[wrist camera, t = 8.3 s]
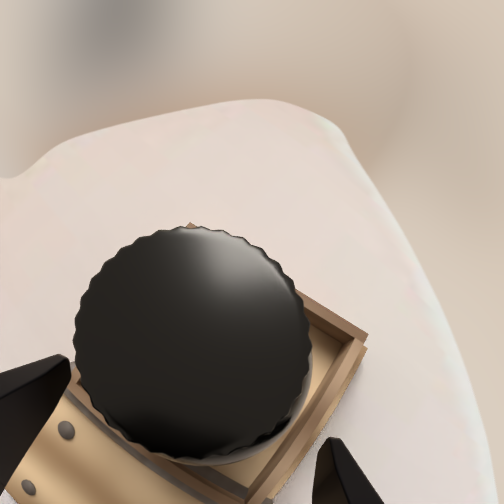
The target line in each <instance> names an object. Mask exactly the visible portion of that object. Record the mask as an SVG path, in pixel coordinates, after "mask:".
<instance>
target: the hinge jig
mask: <svg viewBox="0 0 504 504" xmlns="http://www.w3.org/2000/svg"><path fill="white" fill-rule="evenodd" d="M186 227H187V228H190V229H191V228H195V227H197V226H195V225H194V224H192V223H189V224H188V225H187V226H186ZM295 292H296V293H297V294H298V295H299V296H300V297H301V298H302V299H303V301H304V313H305V315H306V316H307V318H308V320H309V321H310V329H309V333H308V334H309V338H310V340H311V343H312V346H313V347H312V359H313V368H312V378H311V384H310V388H309V392H308V395H307V398H306V401H305V403H304V405H303V408H302V410H301V411H300V413H299V415H298V417H297V418H296V420H295V421H294V423H293V424H292V425H291V427H290V428H289V429H288V430H287V431H286V432H285V434H284V435H283V436H281V437H280V438H279V439H278V440H277V441H276V442H275V443H273V444H272V445H271V446H270V447H268V448H267V449H265V450H263V451H262V452H260V453H258V454H256V455H254V456H252V457H250V458H248V459H245V460H242V461H239V462H236V463H231V464H227V465H220V466H193V465H187V464H181V463H178V462H174V461H171V460H168V459H166V458H163V457H161V456H159V455H157V454H155V453H150V452H149V451H147V450H146V449H145V448H144V447H143V446H141V445H140V444H136V443H131V442H128V441H127V440H126V439H125V438H124V437H123V436H122V434H121V433H120V432H119V431H118V430H115V429H113V428H111V427H109V426H108V425H107V423H106V421H105V419H104V417H103V415H102V414H101V413H99V412H98V411H97V410H96V409H94V408H93V407H92V404H91V401H90V396H89V394H88V393H87V392H86V391H85V390H84V389H83V387H82V386H81V375H80V372H79V371H78V369H77V367H76V365H75V362H71V363H70V367H71V373H72V377H71V380H70V382H69V384H68V386H67V388H66V390H65V392H64V393H63V395H62V397H61V399H60V401H59V403H58V405H57V407H56V408H55V410H54V412H53V413H52V415H51V416H50V418H49V419H48V421H47V422H46V424H45V425H44V427H43V428H42V430H41V431H40V433H39V434H38V436H37V437H36V439H35V440H34V442H33V443H32V445H31V446H30V448H29V450H28V451H27V453H26V454H25V456H24V457H23V459H22V461H21V462H20V464H19V465H18V467H17V469H16V470H15V472H14V473H13V475H12V477H11V478H10V480H9V482H8V483H7V485H6V487H5V489H6V491H7V492H8V493H9V494H10V495H11V496H12V497H13V498H14V500H15V501H16V502H17V503H18V504H272V503H273V501H272V499H273V498H274V496H275V495H276V494H277V493H278V491H279V490H280V489H281V488H282V486H283V485H284V484H285V482H286V481H287V480H288V478H289V477H290V476H291V474H292V473H293V471H294V470H295V469H296V467H297V466H298V465H299V463H300V462H301V460H302V459H303V457H304V456H305V454H306V453H307V452H308V450H309V449H310V447H311V446H312V444H313V443H314V441H315V440H316V438H317V437H318V435H319V433H320V432H321V430H322V429H323V427H324V426H325V424H326V422H327V421H328V419H329V417H330V416H331V414H332V413H333V411H334V409H335V408H336V406H337V404H338V402H339V401H340V399H341V397H342V396H343V394H344V392H345V390H346V388H347V387H348V385H349V383H350V381H351V379H352V378H353V376H354V374H355V372H356V370H357V368H358V366H359V364H360V362H361V360H362V359H363V357H364V355H365V353H366V351H367V349H368V348H367V347H365V346H363V344H364V342H365V340H366V338H367V336H368V334H367V333H366V332H364V331H363V330H361V329H359V328H358V327H356V326H355V325H353V324H351V323H350V322H348V321H346V320H345V319H343V318H342V317H340V316H338V315H337V314H335V313H334V312H332V311H330V310H329V309H327V308H326V307H324V306H322V305H321V304H319V303H317V302H316V301H314V300H313V299H311V298H309V297H308V296H306V295H305V294H303V293H301V292H300V291H298V290H297V289H295Z"/></svg>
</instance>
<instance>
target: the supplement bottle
mask: <svg viewBox="0 0 504 504" xmlns="http://www.w3.org/2000/svg"><path fill="white" fill-rule="evenodd" d="M75 328H76V331H75V334H74V337H73V345H74V348H75V351H76V355H75V365H76V367H77V369H78V371H79V372H80V375H81V386H82V387H83V389H84V390H85V391H86V392H87V393H88V394H89V396H90V401H91V404H92V407H93V408H94V409H96V410H97V411H98V412H99V413H101V414H102V415H103V417H104V419H105V421H106V423H107V425H108V426H109V427H111V428H113V429H115V430H118V431H119V432H120V433H121V434H122V436H123V437H124V438H125V439H126V440H127V441H128V442H131V443H136V444H140V445H141V446H143V447H144V448H145V449H146V450H147V451H149V452H150V453H155V454H157V455H159V456H161V457H163V458H166V459H168V460H171V461H174V462H178V463H181V464H187V465H193V466H220V465H227V464H231V463H236V462H239V461H242V460H245V459H248V458H250V457H252V456H254V455H256V454H258V453H260V452H262V451H263V450H265V449H267V448H268V447H270V446H271V445H272V444H273V443H275V442H276V441H277V440H278V439H279V438H280V437H281V436H283V435H284V434H285V432H286V431H287V430H288V429H289V428H290V427H291V425H292V424H293V423H294V421H295V420H296V418H297V417H298V415H299V413H300V411H301V410H302V408H303V405H304V403H305V401H306V398H307V395H308V392H309V388H310V384H311V378H312V368H313V359H312V347H313V346H312V343H311V340H310V338H309V334H308V333H309V329H310V321H309V320H308V318H307V316H306V315H305V313H304V301H303V299H302V298H301V297H300V296H299V295H298V294H297V293H296V292H295V286H294V282H293V280H292V279H291V278H289V277H288V276H287V275H286V274H284V273H283V270H282V268H281V266H280V264H279V263H278V262H277V261H275V260H272V259H270V258H269V257H268V256H267V254H266V253H265V251H264V250H263V249H262V248H260V247H257V246H253V245H251V244H250V243H249V242H248V241H247V240H246V239H245V238H243V237H238V236H231V235H230V234H229V233H227V232H225V231H224V230H210V229H207V228H205V227H202V226H200V227H195V228H191V229H190V228H187V227H182V226H179V227H176V228H174V229H172V230H158V231H156V232H155V233H153V234H152V235H150V236H144V237H139V238H138V239H137V240H135V242H134V243H133V244H131V245H128V246H125V247H123V248H121V249H120V250H119V251H118V252H117V254H116V255H115V257H113V258H111V259H109V260H107V261H106V262H105V263H104V264H103V266H102V268H101V270H100V272H99V273H98V274H96V275H95V276H94V277H93V278H92V279H91V281H90V284H89V288H88V290H87V291H86V292H85V293H84V294H83V296H82V297H81V301H80V310H79V312H78V313H77V315H76V317H75Z"/></svg>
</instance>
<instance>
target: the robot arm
mask: <svg viewBox="0 0 504 504" xmlns="http://www.w3.org/2000/svg"><path fill="white" fill-rule="evenodd" d="M71 377H72V373H71V367H70V361H69V359H68V358H67V357H65V356H63V355H61V354H56V355H53V356H50V357H47V358H44V359H41V360H38V361H35V362H32V363H29V364H26V365H23V366H20V367H17V368H14V369H11V370H8V371H5V372H2V373H0V496H1V494H2V492H3V491H4V489H5V487H6V485H7V483H8V482H9V480H10V478H11V477H12V475H13V473H14V472H15V470H16V469H17V467H18V465H19V464H20V462H21V461H22V459H23V457H24V456H25V454H26V453H27V451H28V450H29V448H30V446H31V445H32V443H33V442H34V440H35V439H36V437H37V436H38V434H39V433H40V431H41V430H42V428H43V427H44V425H45V424H46V422H47V421H48V419H49V418H50V416H51V415H52V413H53V412H54V410H55V408H56V407H57V405H58V403H59V401H60V399H61V397H62V395H63V393H64V392H65V390H66V388H67V386H68V384H69V382H70V380H71ZM312 504H384V502H383V501H382V499H381V498H380V496H379V495H378V493H377V492H376V491H375V489H374V488H373V486H372V485H371V483H370V482H369V480H368V479H367V477H366V476H365V474H364V473H363V471H362V470H361V468H360V467H359V465H358V464H357V462H356V461H355V459H354V458H353V456H352V455H351V453H350V452H349V450H348V449H347V447H346V446H345V444H344V443H343V441H342V440H341V439H340V438H334V437H329V438H327V439H326V441H325V442H324V444H323V445H322V447H321V448H320V449H319V451H318V454H317V461H316V469H315V476H314V484H313V492H312Z"/></svg>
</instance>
